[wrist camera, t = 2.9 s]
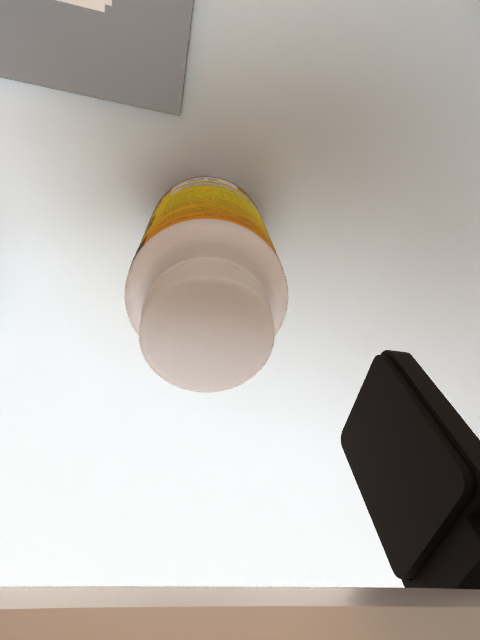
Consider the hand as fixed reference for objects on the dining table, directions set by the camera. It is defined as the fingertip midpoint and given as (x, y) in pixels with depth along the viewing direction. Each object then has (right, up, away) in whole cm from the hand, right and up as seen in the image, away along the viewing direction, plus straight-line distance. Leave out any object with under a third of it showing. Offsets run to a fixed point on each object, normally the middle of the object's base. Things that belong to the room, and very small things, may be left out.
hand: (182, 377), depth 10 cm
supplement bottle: (0, +6, +11) cm, 13 cm away
